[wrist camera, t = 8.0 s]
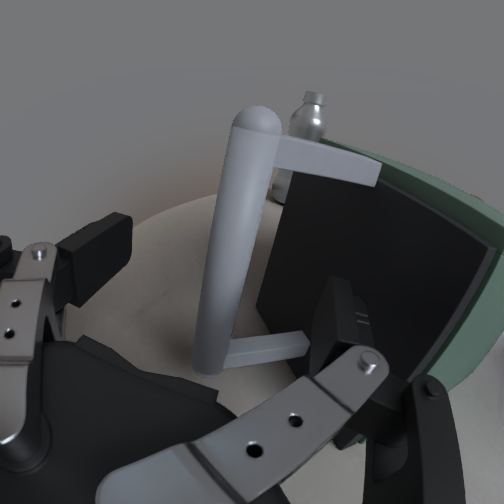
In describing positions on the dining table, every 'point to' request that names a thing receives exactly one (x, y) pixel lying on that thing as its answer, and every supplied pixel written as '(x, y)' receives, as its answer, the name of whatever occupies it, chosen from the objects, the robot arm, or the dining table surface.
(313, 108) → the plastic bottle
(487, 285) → the green drawer cabinet
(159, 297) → the dining table surface
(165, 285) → the dining table surface
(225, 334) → the black drawer with handle
